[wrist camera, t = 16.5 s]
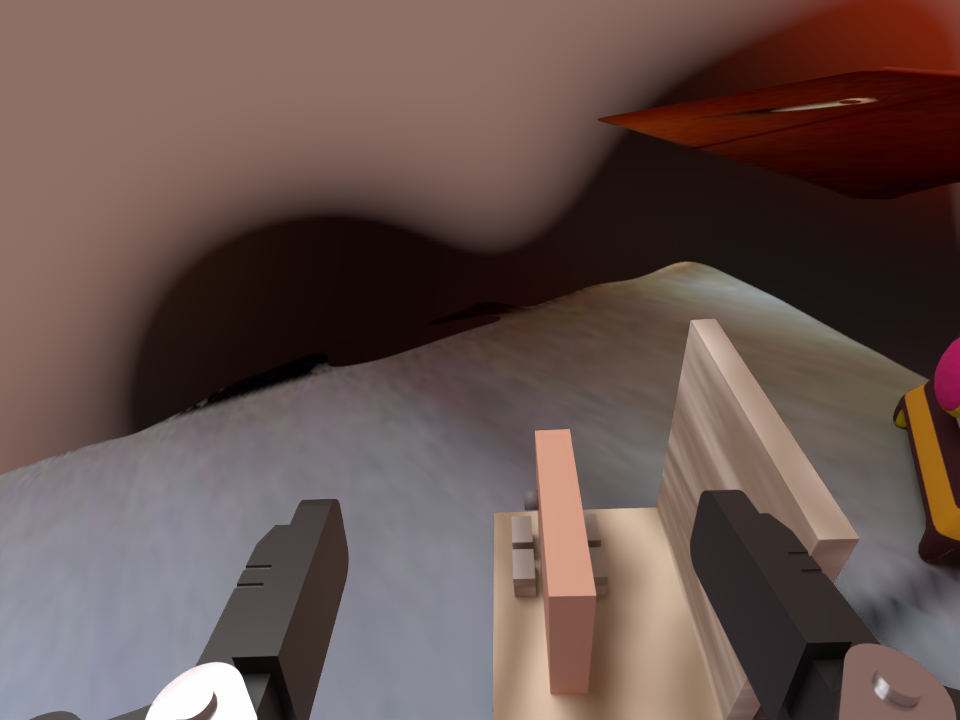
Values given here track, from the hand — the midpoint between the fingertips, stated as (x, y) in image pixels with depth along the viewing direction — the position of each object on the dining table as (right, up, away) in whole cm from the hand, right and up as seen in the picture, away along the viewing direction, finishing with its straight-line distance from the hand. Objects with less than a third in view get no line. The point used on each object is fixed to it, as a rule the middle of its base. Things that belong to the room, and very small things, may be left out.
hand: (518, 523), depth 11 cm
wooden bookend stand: (+8, -15, +27) cm, 32 cm away
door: (+5, -14, +26) cm, 30 cm away
